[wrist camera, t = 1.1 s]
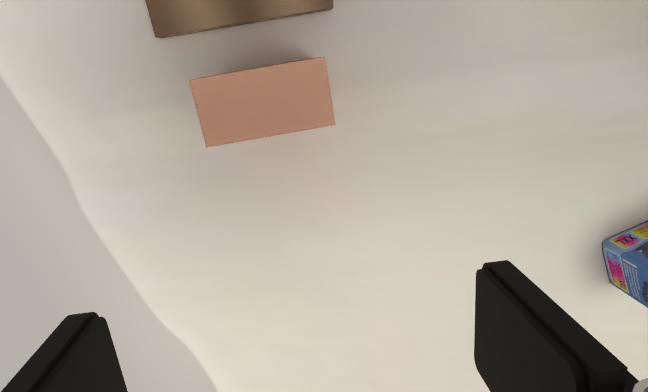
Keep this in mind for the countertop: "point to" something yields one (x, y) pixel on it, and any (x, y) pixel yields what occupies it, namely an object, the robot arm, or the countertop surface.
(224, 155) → the countertop surface
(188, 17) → the walnut shelf
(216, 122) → the terracotta rectangular block
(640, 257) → the ink cartridge box
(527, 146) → the countertop surface
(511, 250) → the countertop surface
